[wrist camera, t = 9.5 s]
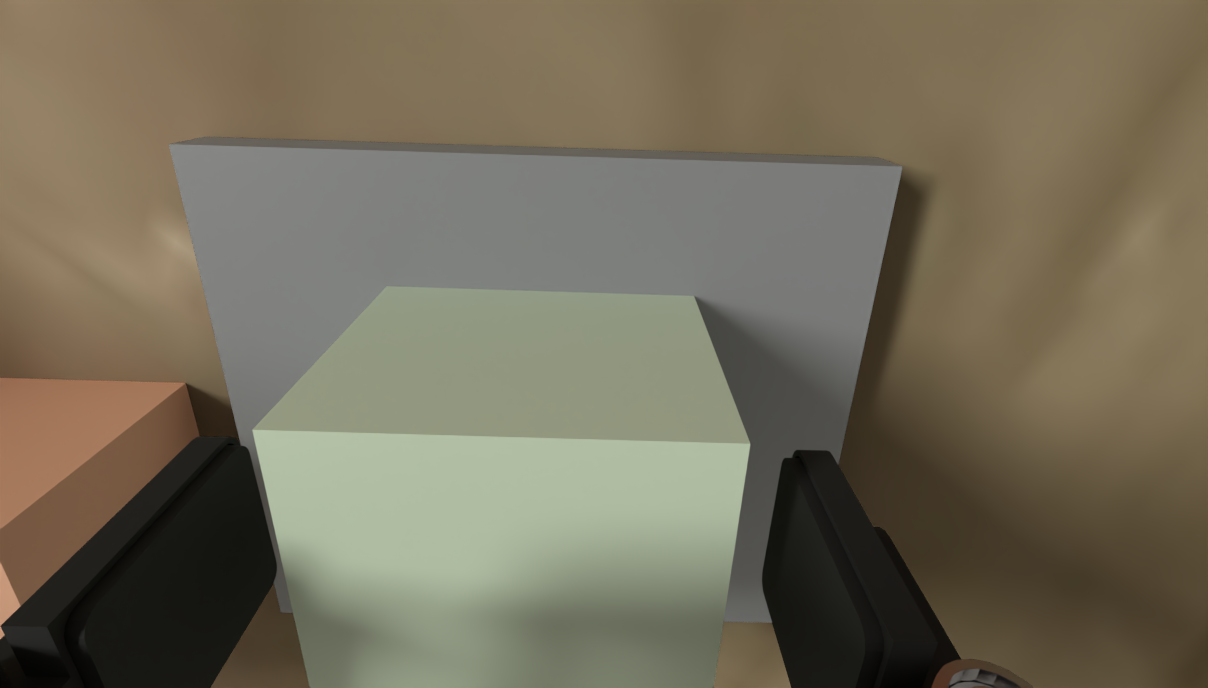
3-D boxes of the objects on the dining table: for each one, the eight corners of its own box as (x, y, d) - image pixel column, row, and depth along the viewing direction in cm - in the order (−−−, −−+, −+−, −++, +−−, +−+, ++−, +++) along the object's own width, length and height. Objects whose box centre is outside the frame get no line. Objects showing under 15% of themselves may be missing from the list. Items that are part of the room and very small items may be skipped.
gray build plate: (204, 136, 13) (168, 144, 12) (878, 157, 13) (902, 166, 12) (300, 579, 18) (281, 612, 17) (792, 589, 18) (804, 623, 17)
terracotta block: (-77, 373, 16) (-407, 528, 11) (188, 381, 16) (-11, 538, 11) (14, 574, 18) (-214, 775, 13) (240, 578, 18) (101, 780, 13)
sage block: (386, 286, 13) (252, 429, 8) (694, 296, 13) (749, 443, 8) (413, 530, 16) (324, 754, 11) (670, 536, 16) (702, 762, 11)
